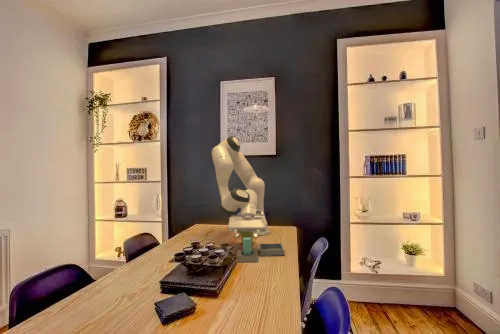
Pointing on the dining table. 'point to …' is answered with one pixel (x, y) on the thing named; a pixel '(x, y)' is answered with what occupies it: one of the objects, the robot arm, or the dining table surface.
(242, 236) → the plant pot
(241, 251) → the grey flat square block
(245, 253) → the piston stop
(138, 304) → the dining table surface
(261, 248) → the parts tray
